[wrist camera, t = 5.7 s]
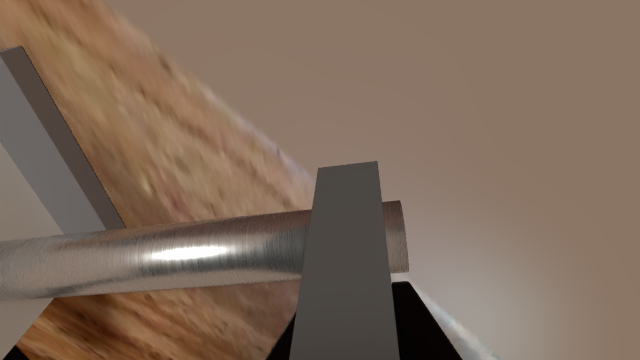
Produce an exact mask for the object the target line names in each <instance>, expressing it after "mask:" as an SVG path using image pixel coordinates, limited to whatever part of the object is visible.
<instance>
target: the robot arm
mask: <svg viewBox="0 0 640 360" xmlns="http://www.w3.org/2000/svg"><path fill="white" fill-rule="evenodd" d="M391 286H392V295H393V304H394V313H395V322H396V330H397V339H398V348H399V357H400V360H462V358H461V357H460V355H459V354H458V352H457V351H456V350H455V348H454V347H453V345H452V344H451V342H450V341H449V339H448V338H447V336H446V335H445V333H444V332H443V330H442V329H441V328H440V326H439V325H438V323H437V322H436V320H435V319H434V317H433V316H432V314H431V313H430V311H429V310H428V309H427V307H426V306H425V304H424V303H423V301H422V300H421V298H420V297H419V295H418V294H417V292H416V291H415V289H414V288H413V287H412V285H411V284H410V283H409V282H408V281H402V282H393V283H392V284H391ZM296 311H297V310H296ZM295 318H296V312H295V313H294V315H293V317H292V318H291V320H290V321H289V323H288V325H287V326H286V328H285V329H284V331H283V332H282V334H281V336H280V337H279V339H278V340H277V342H276V344H275V345H274V347H273V348H272V350H271V352H270V353H269V355H268V356H267V358H266V359H265V360H289V357H290V351H291V344H292V338H293V331H294V324H295ZM3 360H25V359H24V358H23V357H22V356H21V355H20V354H19V353H18V352H17V351H16V350H15V349H14V348H12V349H11V350H10V351H9V352H8V354H7V355H6V356H5V357H4V358H3Z"/></svg>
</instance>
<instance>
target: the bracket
mask: <svg viewBox="0 0 640 360" xmlns="http://www.w3.org/2000/svg"><path fill="white" fill-rule="evenodd" d="M123 228H126V227H125V225H124V224H123V222H122V220H121V219H120V217H119V215H118V213H117V212H116V210H115V208H114V206H113V205H112V203H111V201H110V199H109V198H108V196H107V194H106V192H105V191H104V189H103V187H102V185H101V184H100V182H99V180H98V178H97V177H96V175H95V173H94V171H93V170H92V168H91V166H90V164H89V163H88V161H87V159H86V158H85V156H84V154H83V152H82V151H81V149H80V147H79V145H78V144H77V142H76V140H75V138H74V137H73V135H72V133H71V131H70V130H69V128H68V126H67V124H66V123H65V121H64V119H63V117H62V116H61V114H60V112H59V110H58V109H57V107H56V105H55V103H54V102H53V100H52V98H51V96H50V95H49V93H48V91H47V90H46V88H45V86H44V84H43V83H42V81H41V79H40V77H39V76H38V74H37V72H36V70H35V69H34V67H33V65H32V63H31V62H30V60H29V58H28V56H27V55H26V53H25V51H24V49H23V48H22V46H18V47H13V48H8V49H2V50H0V241H4V240H14V239H24V238H34V237H44V236H54V235H64V234H73V233H83V232H93V231H103V230H113V229H123ZM53 299H54V298H44V299H30V300H16V301H2V302H0V360H3V358H4V357H5V356H6V355H7V354H8V352H9V351H10V350H11V349H12V348H13V346H14V345H15V344H16V343H17V342H18V340H19V339H20V338H21V337H22V336H23V334H24V333H25V332H26V331H27V330H28V329H29V327H30V326H31V325H32V324H33V323H34V321H35V320H36V319H37V318H38V317H39V315H40V314H41V313H42V312H43V311H44V309H45V308H46V307H47V306H48V305H49V303H50V302H51V301H52V300H53Z"/></svg>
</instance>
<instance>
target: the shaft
mask: <svg viewBox="0 0 640 360" xmlns="http://www.w3.org/2000/svg"><path fill="white" fill-rule="evenodd" d="M405 272H409V263H408V251H407V242H406V234H405V226H404V219H403V213H402V206H401V202H400V200H398V201H388V202H382V198H381V190H380V180H379V171H378V163H377V161H374V162H365V163H357V164H348V165H340V166H332V167H323V168H318V174H317V180H316V186H315V193H314V199H313V206H312V209H310V210H300V211H290V212H280V213H270V214H260V215H250V216H241V217H231V218H221V219H211V220H201V221H191V222H182V223H172V224H162V225H152V226H142V227H132V228H123V229H113V230H103V231H93V232H83V233H73V234H64V235H54V236H44V237H34V238H24V239H14V240H4V241H0V302H2V301H16V300H30V299H44V298H57V297H71V296H85V295H99V294H113V293H127V292H141V291H155V290H169V289H182V288H196V287H210V286H224V285H238V284H252V283H266V282H280V281H294V280H301V285H300V292H299V298H298V305H297V311H296V318H295V324H294V331H293V338H292V344H291V351H290V357H289V360H400V357H399V348H398V339H397V330H396V322H395V313H394V304H393V295H392V286H391V276H390V274H391V273H405Z"/></svg>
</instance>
